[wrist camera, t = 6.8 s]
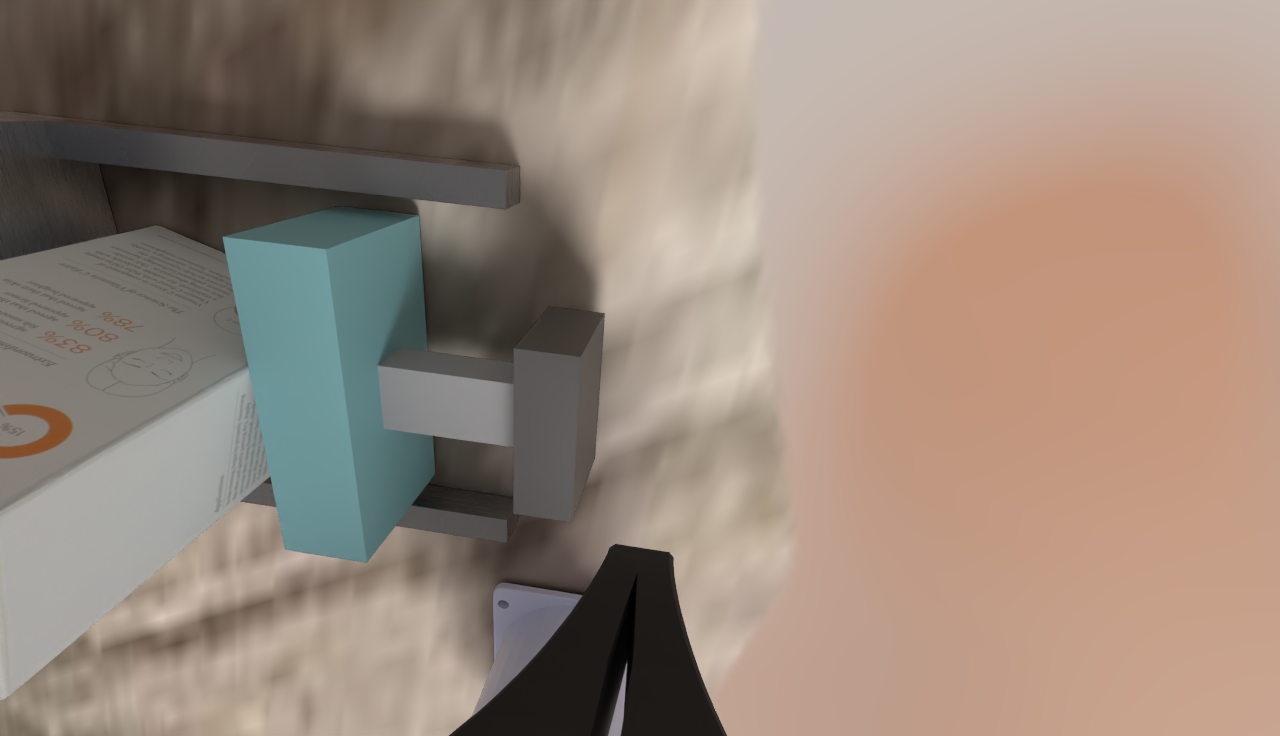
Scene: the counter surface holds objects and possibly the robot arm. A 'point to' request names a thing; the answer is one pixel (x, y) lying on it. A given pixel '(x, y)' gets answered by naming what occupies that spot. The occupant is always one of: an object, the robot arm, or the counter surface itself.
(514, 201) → the vise
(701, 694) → the robot arm
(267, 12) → the counter surface
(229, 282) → the small box
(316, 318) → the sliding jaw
